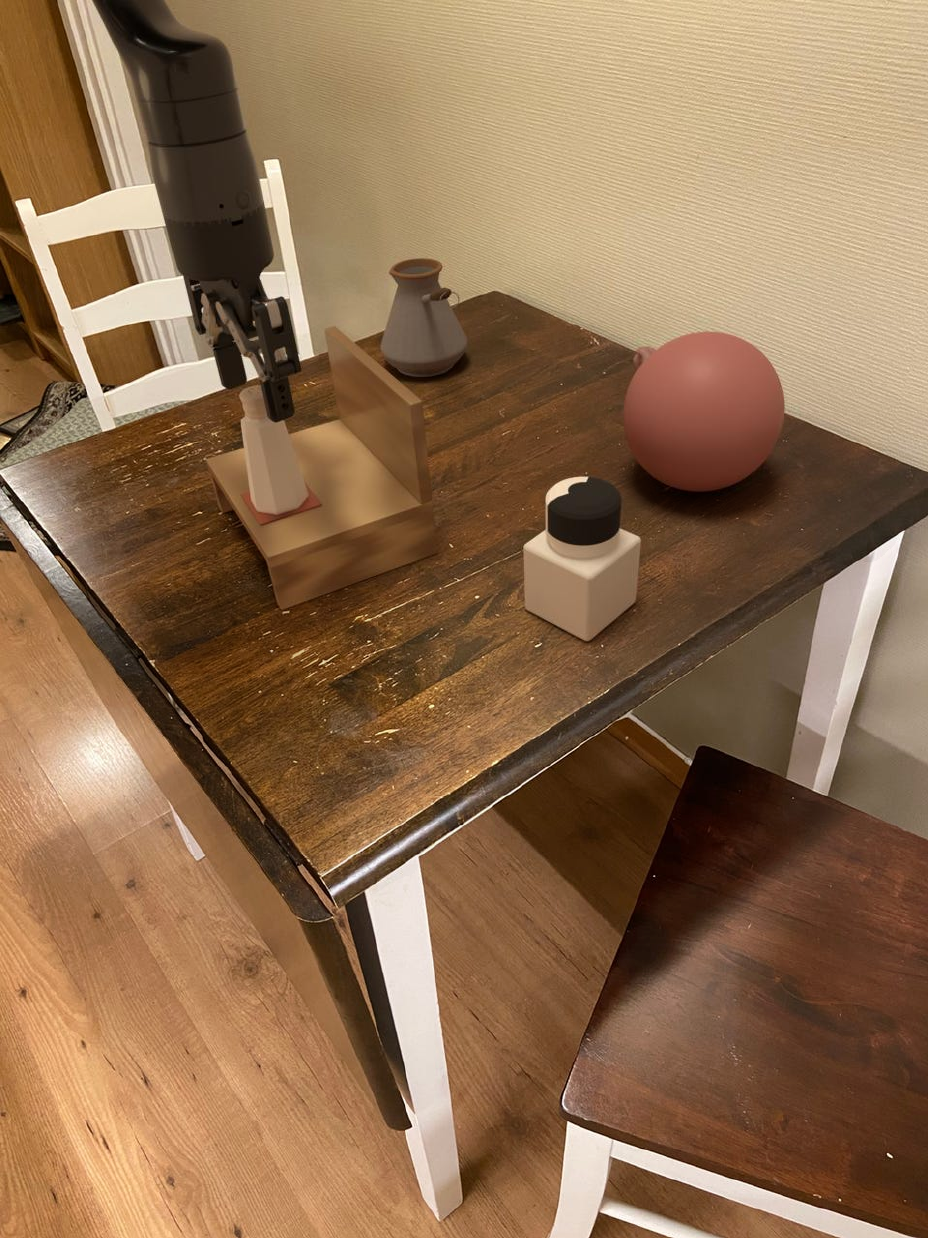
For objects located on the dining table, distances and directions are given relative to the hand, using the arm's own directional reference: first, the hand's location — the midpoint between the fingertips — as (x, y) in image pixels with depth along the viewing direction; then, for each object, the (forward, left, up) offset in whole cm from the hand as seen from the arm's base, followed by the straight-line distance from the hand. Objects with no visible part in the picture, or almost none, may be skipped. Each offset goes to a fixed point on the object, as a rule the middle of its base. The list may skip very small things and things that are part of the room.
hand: (258, 401), depth 76 cm
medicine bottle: (+19, -22, -16) cm, 33 cm away
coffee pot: (+29, +26, -16) cm, 42 cm away
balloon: (+41, -9, -16) cm, 45 cm away
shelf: (+4, +2, -16) cm, 17 cm away
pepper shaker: (0, 0, -10) cm, 10 cm away
